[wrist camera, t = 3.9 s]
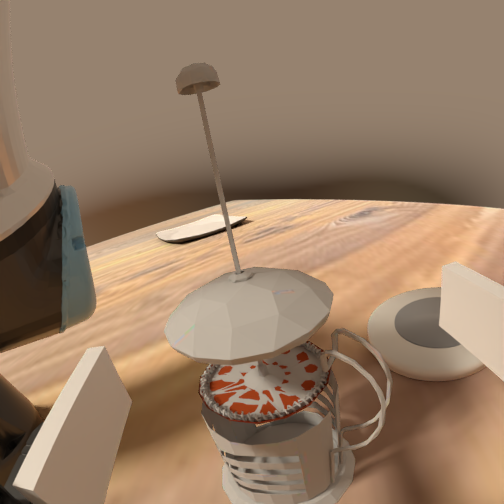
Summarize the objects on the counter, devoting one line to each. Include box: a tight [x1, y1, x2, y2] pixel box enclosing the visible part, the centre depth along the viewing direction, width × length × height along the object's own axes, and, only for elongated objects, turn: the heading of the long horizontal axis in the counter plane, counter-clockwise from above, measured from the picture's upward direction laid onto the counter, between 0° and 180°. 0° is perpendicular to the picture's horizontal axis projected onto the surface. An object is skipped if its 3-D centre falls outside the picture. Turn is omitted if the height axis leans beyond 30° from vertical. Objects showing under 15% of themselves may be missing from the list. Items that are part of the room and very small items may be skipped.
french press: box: [164, 63, 393, 504], centre depth 15 cm, size 10×12×25 cm
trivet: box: [367, 287, 487, 381], centre depth 29 cm, size 16×16×2 cm
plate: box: [156, 214, 247, 242], centre depth 111 cm, size 29×29×3 cm
